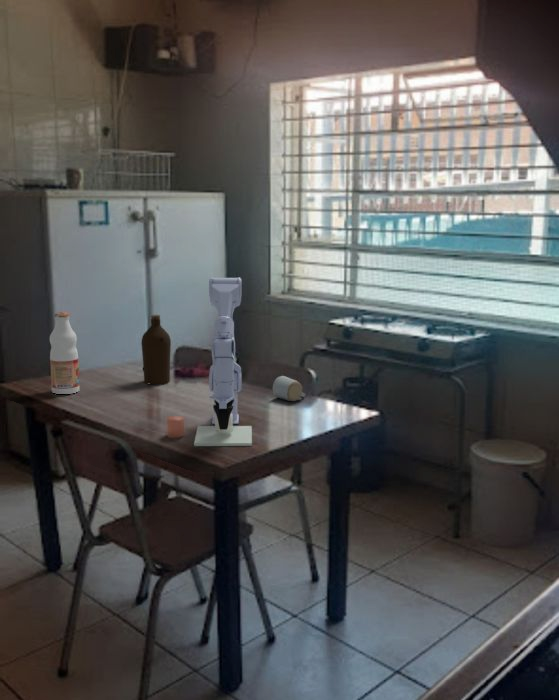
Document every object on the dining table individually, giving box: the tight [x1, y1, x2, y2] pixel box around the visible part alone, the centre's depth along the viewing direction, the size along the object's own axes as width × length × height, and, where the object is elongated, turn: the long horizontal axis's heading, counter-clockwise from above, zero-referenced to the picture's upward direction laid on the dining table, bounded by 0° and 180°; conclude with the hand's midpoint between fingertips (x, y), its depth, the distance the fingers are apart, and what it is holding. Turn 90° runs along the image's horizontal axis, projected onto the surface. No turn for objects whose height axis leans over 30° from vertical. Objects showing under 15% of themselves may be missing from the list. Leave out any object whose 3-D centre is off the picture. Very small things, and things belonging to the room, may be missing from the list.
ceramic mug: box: [272, 375, 306, 402], centre depth 259 cm, size 11×8×8 cm
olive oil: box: [141, 314, 172, 385], centre depth 279 cm, size 11×11×25 cm
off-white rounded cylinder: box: [214, 413, 234, 434], centre depth 217 cm, size 5×5×5 cm
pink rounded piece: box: [166, 415, 185, 439], centre depth 219 cm, size 5×5×5 cm
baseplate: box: [193, 425, 253, 447], centre depth 218 cm, size 16×16×1 cm
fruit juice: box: [49, 311, 80, 395], centre depth 263 cm, size 9×9×28 cm
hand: (223, 426), depth 217 cm, fingers closed on off-white rounded cylinder, 5 cm apart
